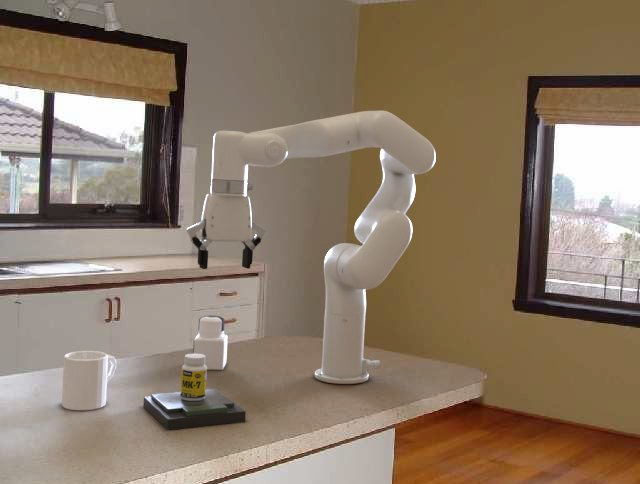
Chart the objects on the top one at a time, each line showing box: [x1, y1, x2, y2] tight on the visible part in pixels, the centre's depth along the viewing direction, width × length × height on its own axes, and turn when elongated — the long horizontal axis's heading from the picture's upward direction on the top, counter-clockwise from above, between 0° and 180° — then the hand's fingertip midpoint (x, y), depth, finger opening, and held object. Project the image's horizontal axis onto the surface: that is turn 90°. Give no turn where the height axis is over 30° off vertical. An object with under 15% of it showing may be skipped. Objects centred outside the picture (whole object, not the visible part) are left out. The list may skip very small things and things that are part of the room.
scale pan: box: [150, 388, 235, 413], centre depth 171 cm, size 13×11×1 cm
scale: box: [142, 395, 247, 431], centre depth 171 cm, size 15×16×3 cm
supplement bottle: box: [180, 353, 208, 401], centre depth 171 cm, size 5×5×8 cm
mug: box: [61, 350, 118, 411], centre depth 174 cm, size 8×12×10 cm
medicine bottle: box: [192, 314, 228, 371], centre depth 209 cm, size 7×7×12 cm
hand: (224, 268), depth 189 cm, fingers open, 9 cm apart
